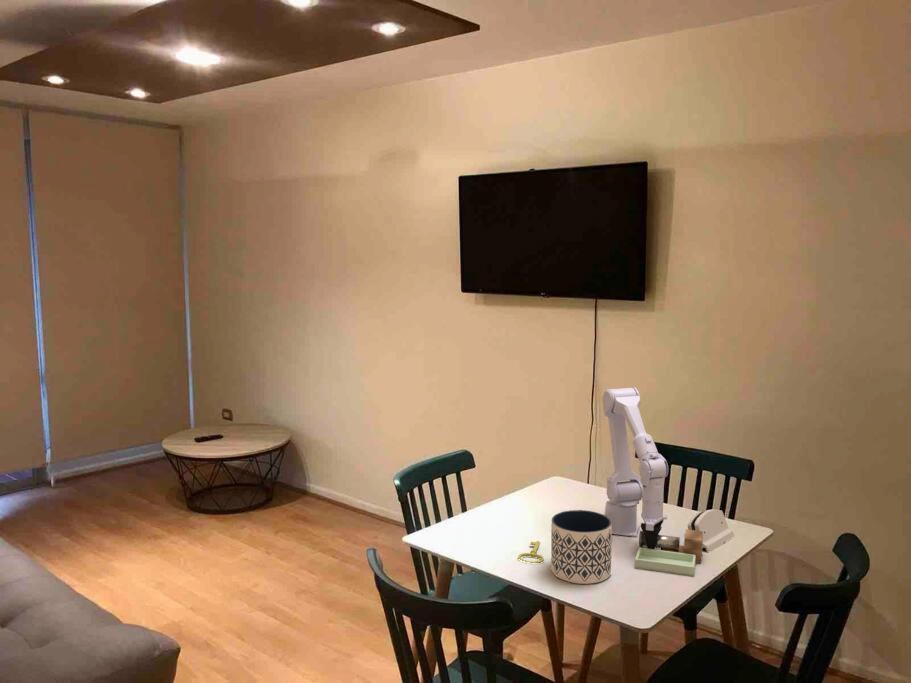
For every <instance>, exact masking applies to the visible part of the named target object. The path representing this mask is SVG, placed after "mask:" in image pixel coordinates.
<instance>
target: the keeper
mask: <svg viewBox="0 0 911 683" xmlns="http://www.w3.org/2000/svg"><path fill="white" fill-rule="evenodd" d="M702 539H703V531H696V530H688V528H687V529H685V532H684V541H683V542H684V543H683V545H681V544H680V545H679V550H672V549H664V548H659V550H662V551H670V552H677V553H685V554H692V555H696V563H695V564H699V565H700V564H702V558H703V557H702V556H703V548H702Z"/></svg>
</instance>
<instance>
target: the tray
mask: <svg viewBox="0 0 911 683" xmlns="http://www.w3.org/2000/svg"><path fill="white" fill-rule="evenodd" d="M635 556H636V557H635V560H634V563H635V564H634V568H635V569H639V570H646V571H652V572H653V571H654V572H660V573H661V572H662V573H666V574H667V573H668V574H674V575H681V576H682V575H683V576H690V577H694V576H695V570H696V564H697V563H696V555H692V554H685V553H677V552H670V551H662V550H660V549H648V548H647V547H638V550H637V553H636V555H635Z"/></svg>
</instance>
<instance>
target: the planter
mask: <svg viewBox="0 0 911 683" xmlns="http://www.w3.org/2000/svg"><path fill="white" fill-rule="evenodd" d="M550 527H551V530H550V531H551V540H550V541H551V542H550V543H551V544H550V545H551V548H550V549H551V556H550V557H551V559H550V560H551V562H550V563H551V564H550V565H551V572H552V573H553V575H555V576H556V577H557V578H559V579H560V580H563V581H564V582H569V583H572V584H577V585H579V584H580V585H590V584H596V583H597V584H598V583H600V582H603V581H605V580H607V579H608V578H609V577H610V576H611V574H612V549H613V548H612V539H613V538H612V537H613V536H612V535H613V534H612V522H611V520H610V519H609V518H608V517H607V516H605V514H604V513H603V514H602V513H600V512H595V511H592V510H587V509H586V510H581V509H572V510H564V511H561V512H558V513H555V514H554V515H553V516H552V517H551V526H550Z"/></svg>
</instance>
